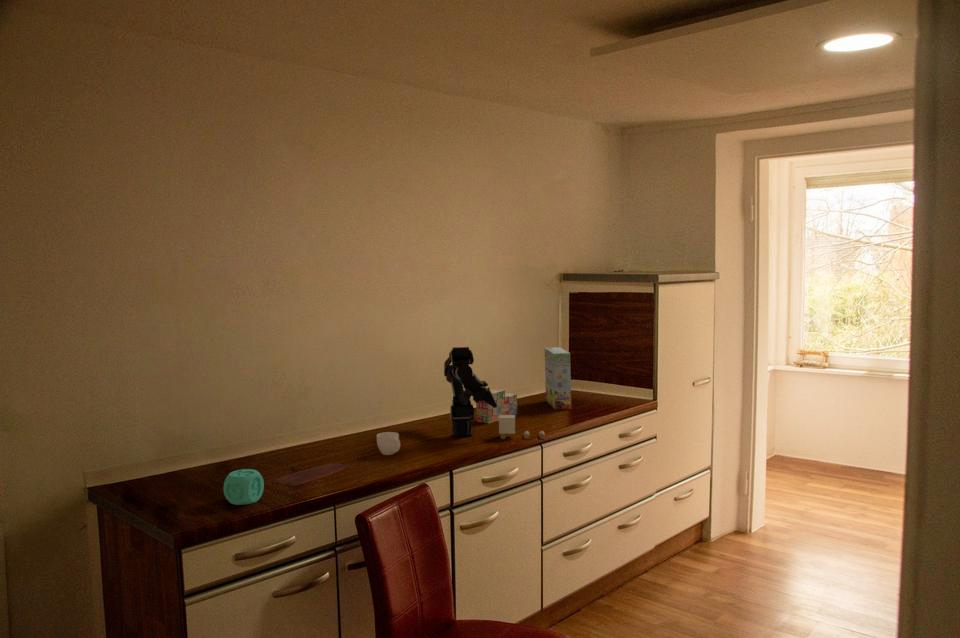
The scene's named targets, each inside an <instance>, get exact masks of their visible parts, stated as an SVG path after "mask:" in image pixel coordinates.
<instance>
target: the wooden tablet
mask: <svg viewBox="0 0 960 638" xmlns="http://www.w3.org/2000/svg"><path fill="white" fill-rule="evenodd" d="M351 466H352V465H351V464H344V463H342V464H341V463H333V462H332V463H327V464H322V465H319V466H314V467H311V468H307V469H303V470H299V471H296V472H293V473H290V474H286V475H283V476H281V477H278V478H275V479H274V480H273V483H274V484H282V485H285V486H287V487H292V488H294V487H298V486H301V485H305V484H307V483H311V482H314V481H316V480H319V479H323V478H324V477H328V476H330V475H332V474H336V473H338V472H340V471H343V470H346V469H348V468H351Z"/></svg>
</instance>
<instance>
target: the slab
mask: <svg viewBox="0 0 960 638" xmlns="http://www.w3.org/2000/svg"><path fill="white" fill-rule="evenodd" d="M498 433H499V434H500V435H501V434H506V435H507V434H509V435H511V434H516V415H499V421H498Z"/></svg>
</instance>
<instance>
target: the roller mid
mask: <svg viewBox="0 0 960 638" xmlns="http://www.w3.org/2000/svg"><path fill="white" fill-rule="evenodd" d="M523 437H524V440H529V439H530V431H529V430H524V432H523Z"/></svg>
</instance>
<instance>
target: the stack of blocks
mask: <svg viewBox="0 0 960 638" xmlns="http://www.w3.org/2000/svg"><path fill="white" fill-rule="evenodd" d="M490 391H491V393H492V395H493V398H494V400H495V402H496V404H497V407H496V408H494V407H493V406H491V405H489V404H488V403H486V402H484V401H478V402H477V403H476V402H475V404H476V405H475V406H476V422H477V423H482V424H492V423H496V422H499V415H515V416H517V415H518V394H517V393H509V392H506V391H505V389H496V388H495V389H494V388H492V389H490Z"/></svg>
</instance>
